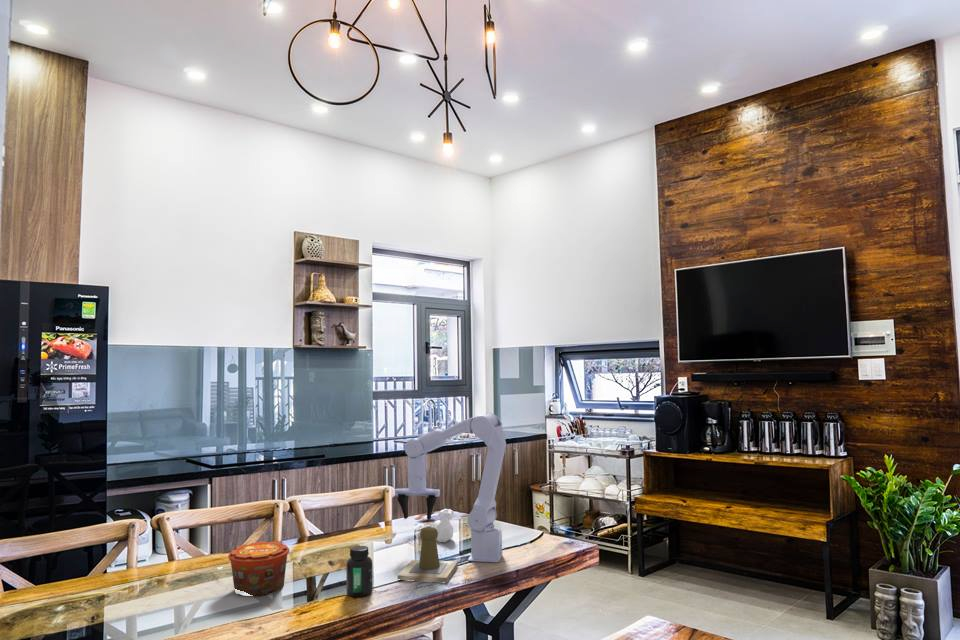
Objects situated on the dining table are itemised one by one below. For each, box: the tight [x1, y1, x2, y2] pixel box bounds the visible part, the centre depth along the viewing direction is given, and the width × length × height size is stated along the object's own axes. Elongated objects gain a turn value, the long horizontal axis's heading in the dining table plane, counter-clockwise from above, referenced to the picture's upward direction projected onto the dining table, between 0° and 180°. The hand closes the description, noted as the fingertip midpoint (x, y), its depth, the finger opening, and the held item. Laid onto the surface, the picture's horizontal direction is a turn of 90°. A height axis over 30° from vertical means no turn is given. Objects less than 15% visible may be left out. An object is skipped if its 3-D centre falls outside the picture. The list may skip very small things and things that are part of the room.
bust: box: [432, 508, 455, 544], centre depth 225 cm, size 12×8×11 cm
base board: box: [397, 559, 459, 584], centre depth 191 cm, size 14×14×2 cm
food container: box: [227, 541, 290, 597], centre depth 182 cm, size 16×16×11 cm
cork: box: [419, 526, 440, 570], centre depth 192 cm, size 6×6×11 cm
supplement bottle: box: [345, 545, 374, 599], centre depth 176 cm, size 7×7×12 cm
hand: (417, 518), depth 213 cm, fingers open, 7 cm apart
